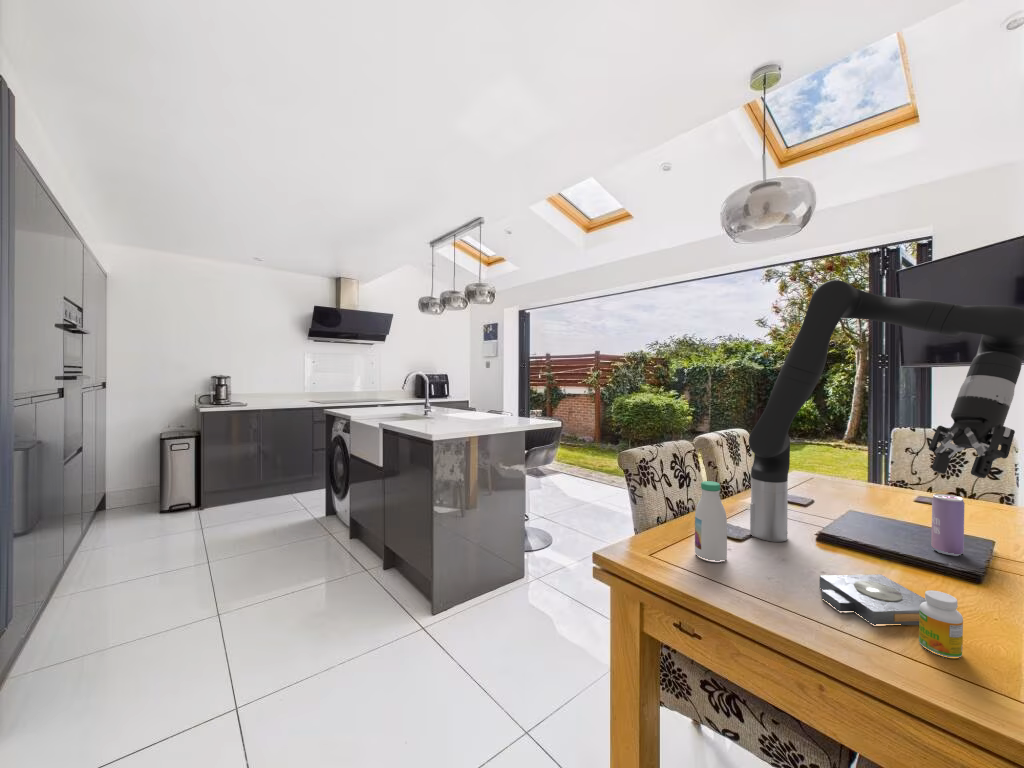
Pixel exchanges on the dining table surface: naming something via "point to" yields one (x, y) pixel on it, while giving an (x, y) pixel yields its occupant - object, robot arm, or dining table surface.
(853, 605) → the grey coaster with tab
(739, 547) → the dining table surface
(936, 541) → the beverage can
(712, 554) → the milk bottle
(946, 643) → the supplement bottle
